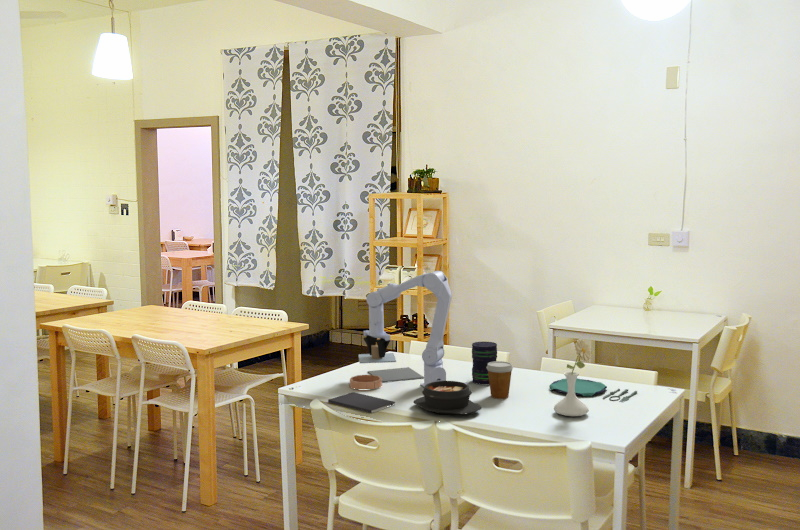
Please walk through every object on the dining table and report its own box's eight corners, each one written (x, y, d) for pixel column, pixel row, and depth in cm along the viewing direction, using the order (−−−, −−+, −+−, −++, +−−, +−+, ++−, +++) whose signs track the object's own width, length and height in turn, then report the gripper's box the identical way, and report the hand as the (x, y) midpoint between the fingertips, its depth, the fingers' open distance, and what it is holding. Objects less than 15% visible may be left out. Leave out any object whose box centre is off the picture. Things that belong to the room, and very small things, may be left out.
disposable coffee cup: (497, 391, 276) (497, 359, 275) (518, 396, 270) (518, 363, 268) (481, 396, 270) (480, 364, 269) (502, 401, 263) (502, 368, 262)
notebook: (328, 403, 266) (371, 414, 252) (328, 399, 265) (371, 410, 251) (353, 396, 275) (396, 406, 261) (353, 391, 275) (396, 401, 261)
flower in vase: (567, 421, 240) (567, 344, 237) (546, 411, 250) (547, 338, 248) (600, 415, 245) (600, 341, 243) (578, 406, 255) (579, 335, 253)
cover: (396, 362, 285) (395, 349, 285) (359, 363, 284) (359, 350, 284) (393, 354, 299) (393, 342, 299) (358, 355, 298) (358, 343, 298)
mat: (423, 378, 298) (423, 377, 297) (381, 382, 292) (380, 381, 292) (408, 368, 314) (408, 367, 314) (367, 372, 309) (367, 371, 309)
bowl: (385, 388, 283) (385, 380, 283) (355, 391, 279) (355, 383, 279) (376, 381, 294) (376, 373, 294) (346, 384, 290) (346, 376, 290)
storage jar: (490, 377, 297) (490, 340, 296) (501, 383, 288) (501, 345, 286) (467, 379, 294) (467, 342, 292) (478, 386, 285) (477, 347, 283)
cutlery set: (565, 380, 291) (565, 374, 291) (640, 394, 273) (641, 388, 272) (541, 392, 276) (541, 386, 275) (619, 407, 257) (619, 401, 257)
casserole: (401, 409, 256) (401, 385, 255) (435, 397, 270) (435, 375, 269) (459, 423, 239) (459, 398, 238) (492, 410, 253) (492, 386, 252)
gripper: (396, 322, 287) (396, 357, 289) (373, 318, 299) (373, 351, 300) (382, 325, 283) (382, 360, 284) (359, 320, 294) (359, 354, 295)
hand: (377, 356), depth 292 cm, fingers closed on cover, 6 cm apart
